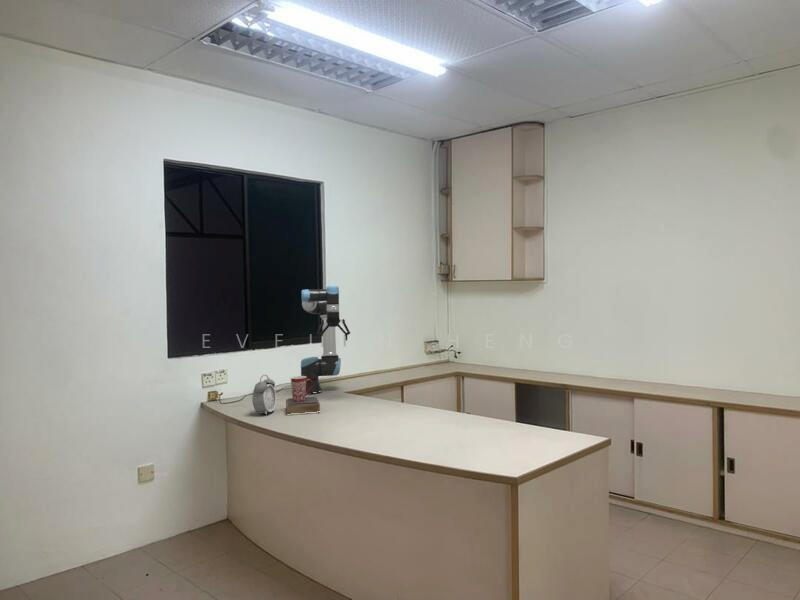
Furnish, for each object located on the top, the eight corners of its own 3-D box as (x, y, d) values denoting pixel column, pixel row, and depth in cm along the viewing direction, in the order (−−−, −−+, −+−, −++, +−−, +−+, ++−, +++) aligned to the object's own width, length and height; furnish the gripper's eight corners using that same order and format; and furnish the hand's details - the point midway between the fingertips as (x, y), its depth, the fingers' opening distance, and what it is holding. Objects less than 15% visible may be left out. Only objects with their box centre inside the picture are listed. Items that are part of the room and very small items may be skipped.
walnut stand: (286, 408, 325) (286, 398, 325) (317, 406, 329) (317, 396, 329) (287, 415, 307) (286, 404, 307) (319, 413, 311) (319, 402, 311)
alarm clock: (265, 417, 303) (264, 377, 303) (251, 416, 305) (250, 377, 304) (278, 410, 319) (277, 372, 319) (264, 410, 321) (263, 372, 321)
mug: (294, 403, 311) (294, 379, 311) (288, 400, 319) (288, 376, 318) (315, 400, 318) (314, 376, 317) (309, 397, 325) (308, 374, 325)
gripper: (312, 312, 329) (313, 347, 330) (354, 311, 335) (355, 346, 335) (311, 311, 336) (312, 346, 337) (352, 310, 342) (353, 344, 343)
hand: (333, 346), depth 336 cm, fingers open, 13 cm apart
